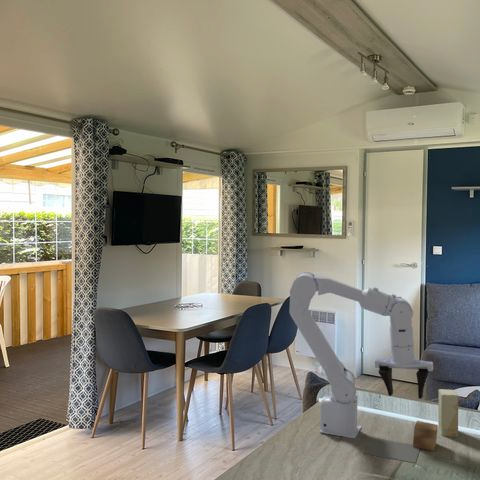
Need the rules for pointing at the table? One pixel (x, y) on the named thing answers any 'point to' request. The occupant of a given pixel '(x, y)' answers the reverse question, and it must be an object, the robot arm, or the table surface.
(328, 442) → the table surface
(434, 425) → the cube
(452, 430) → the box
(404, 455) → the mat
